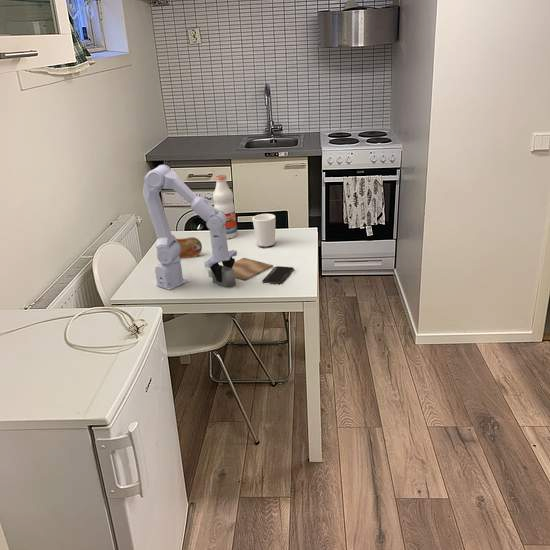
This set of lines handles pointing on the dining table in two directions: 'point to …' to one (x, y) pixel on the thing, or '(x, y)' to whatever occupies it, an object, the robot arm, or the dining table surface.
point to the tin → (189, 247)
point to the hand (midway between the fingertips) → (223, 279)
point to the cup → (264, 229)
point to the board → (248, 268)
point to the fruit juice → (225, 205)
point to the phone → (278, 275)
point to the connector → (224, 277)
